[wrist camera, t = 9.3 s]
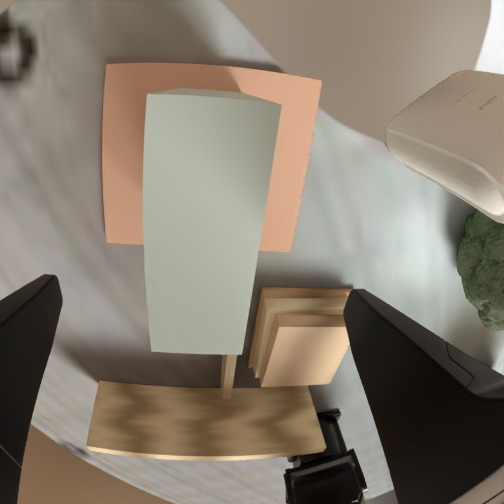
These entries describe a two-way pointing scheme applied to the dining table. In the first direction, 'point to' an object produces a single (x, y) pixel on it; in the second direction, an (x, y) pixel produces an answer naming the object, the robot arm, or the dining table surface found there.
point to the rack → (204, 421)
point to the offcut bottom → (289, 293)
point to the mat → (212, 78)
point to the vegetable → (483, 268)
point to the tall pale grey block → (204, 214)
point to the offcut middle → (290, 307)
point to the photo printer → (457, 138)
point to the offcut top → (303, 350)
